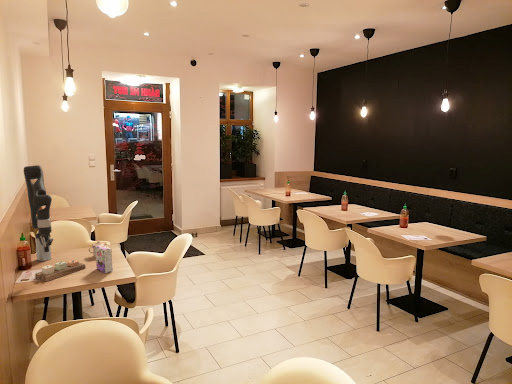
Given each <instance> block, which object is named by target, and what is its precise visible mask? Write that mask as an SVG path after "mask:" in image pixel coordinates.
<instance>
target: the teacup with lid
mask: <svg viewBox="0 0 512 384" xmlns="http://www.w3.org/2000/svg"><path fill="white" fill-rule="evenodd" d="M98 245H105V246H106V244H105V242H101V240H97V241H96V242H95V243H93V244H92V246H91V247H88V253H90V254H92V255H93V257H94V258H96V252H95V246H98ZM91 249H92V251H91Z"/></svg>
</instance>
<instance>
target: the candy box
mask: <svg viewBox="0 0 512 384" xmlns="http://www.w3.org/2000/svg"><path fill="white" fill-rule="evenodd" d="M95 252H96V257H95V260H96V261H95V262H96V269H97V270H98V271H100V272H101V273H104V274H107V273H109V274H110V273H113V272H114V271H113V256H112V255H113V253H112V252H113V251H112V247H111V248H110V247H109V246H106V244H105V245H98V246H95Z"/></svg>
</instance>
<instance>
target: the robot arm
mask: <svg viewBox="0 0 512 384" xmlns="http://www.w3.org/2000/svg"><path fill="white" fill-rule="evenodd" d="M23 176H24V179H25V180H24V181H25V184H26V188H27V189H26V190H27V199H28V204H29V208H30V217H31V218H30V219H31V220H30V221H31V226H32V229H36V230H37V232H36V233H35V235H34V238H35V252H36V253H35V254H36V260H37V262H46V261H50V260H51V259H52V250H51V246H52V244H53V241H54V238H51V233H52V231H53V230H52V222H51V213H50V211H51V206H52V205H51V204H52V196H51V195H50V194H47V191H46V187H45V179H44V178H45V177H44V171H43V168H42V166H41V165H38V164H36V165H27V166H24V168H23ZM32 180H35V181H34V182H32ZM41 207H43V208H41Z"/></svg>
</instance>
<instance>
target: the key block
mask: <svg viewBox="0 0 512 384" xmlns="http://www.w3.org/2000/svg"><path fill="white" fill-rule="evenodd" d="M66 265H67V269H63V270H60V271H59V270H56V269H55V267H54V273H51V274H48V275H45V274H42V271H40V272H36V273H35V274H34V275H35V277H34V278H35V279H38V280H41V281H44V282H49V281H51V280H52V281H53V280H55V279H58V278H60V277H64V276H67V275H70V274H73V273H75V272H78V271H79V272H80V271H81V270H85V269H86V264H85V263H82V262H79V265H76V266H73V267H71V266H68V264H67V263H66Z"/></svg>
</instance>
